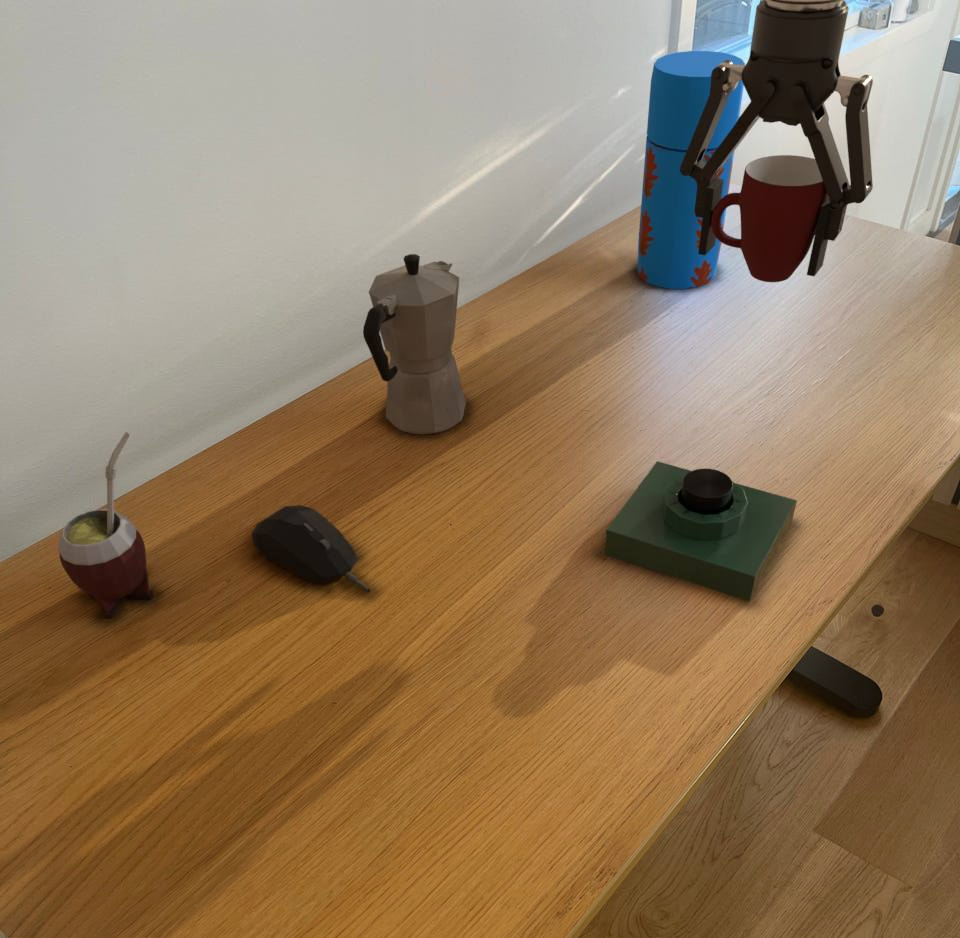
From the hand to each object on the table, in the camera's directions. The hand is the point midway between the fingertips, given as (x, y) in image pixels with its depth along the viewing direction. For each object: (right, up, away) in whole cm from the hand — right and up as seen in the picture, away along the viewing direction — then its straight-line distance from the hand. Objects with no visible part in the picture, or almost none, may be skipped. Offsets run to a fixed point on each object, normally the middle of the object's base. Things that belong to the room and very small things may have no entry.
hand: (759, 259), depth 95 cm
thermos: (-1, +12, +34) cm, 36 cm away
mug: (0, -1, +1) cm, 2 cm away
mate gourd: (-61, -34, -7) cm, 70 cm away
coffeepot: (-35, -13, +11) cm, 39 cm away
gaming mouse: (-44, -31, -5) cm, 54 cm away
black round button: (-8, -26, -9) cm, 28 cm away
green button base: (-7, -29, -6) cm, 30 cm away
